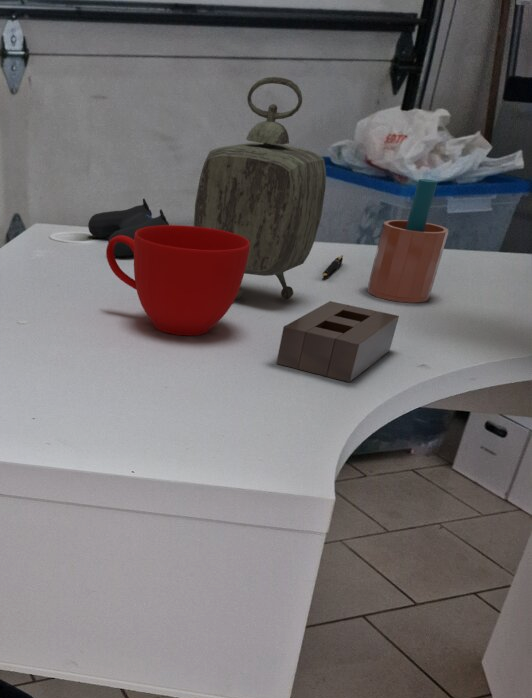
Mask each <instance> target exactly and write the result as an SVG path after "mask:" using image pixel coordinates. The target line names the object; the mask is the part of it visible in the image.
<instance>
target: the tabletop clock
mask: <svg viewBox="0 0 532 698" xmlns="http://www.w3.org/2000/svg"><path fill="white" fill-rule="evenodd" d="M269 84H275V85H282V86H286V87H288V88H290V89H292V91H293V92H294V93H295V94H296V96H297V100H298V101H297V104H296V106H295V107H294V108H292V109H291V110H289V111H284V112H278V106H277V104H276V103H275V104H274V103H272V104H270V105H268V109H267V110H263V109H261V108H259V107H257V106H256V105H255V104H254V103H253V101H252V96H253V93H254V92H255V91H256V90H257V89H258V88H260V87H262V86H265V85H269ZM246 100H247V105H248V107H249V108H250V110H251V111H252V113H254V114H256V115H257V116H259V117H262V118H265V119H266V120H263V121H259V122H257V123H256V124H255V125H253V127H252V128H251V129H250V131H248V134H247V136H246V139H245V140H247V142H246V143H241V144H233V145H226V146H219V147H217V148H214V149H212V150H210V151H209V152H208V155H207V156H206V158H205V161H204V163H203V165H202V168H201V172H200V176H199V182H198V187H197V192H196V197H195V203H194V213H193V214H194V215H193V216H194V217H193V226H195V227H204V228H211V229H217V230H222V231H227V232H231V233H234V234H237V235H240V236H242V237H244V238H246V239H247V240H248V241H249V242H250V249H249V254H248V259H247V264H246V268H245V272H244V275H253V276H263V277H269V276H276V278H277V279H278V281H279V283H280V285H281V288H282V289H281V291H280V295H281V297H282V298H283V299H285V300H288V299H291V298H292V297H293V295H294V289H293V287H291V286H289V285H287V282H286V278H285V272H287V271H289V270H292V269H294V268H296V267H299V266H301V265H303V264H304V263H305V262H306V261H307V258H308V257H309V255H310V253H311V251H312V249H313V246H314V243H315V240H316V237H317V234H318V230H319V227H320V223H321V219H322V215H323V209H324V201H325V196H326V195H325V194H326V185H327V170H326V162H325V159H324V158H323V157H322V156H320V155H319V154H317V153H316V152H313V151H311V150H308V149H305V148H301V147H297V146H292V145H288V144H290V138H289V134H288V130H287V128H286V127H285V126H284V125H283V124H282V123H279V122H277V121H276V120H282V119H287V118H289V117H292V116H293V115H295V114H296V113H298V112H299V110H300V108H301V107H302V105H303V94H302V91H301V89H300V87H299V86H298V84H296V83H295V82H294V81H293V80H291V79H288V78H284V77H279V76H268V77H264V78H262V79H259V80H257V81H256V82H255V83H254V84H253V85H252V86H251V87H250V88H249V91H248V93H247V99H246ZM242 295H243V288H242V287H241V286H240V288H239V291H238V293H237V296H236V298H235V300H237V299H240V298H241V297H242Z"/></svg>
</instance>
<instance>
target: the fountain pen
mask: <svg viewBox="0 0 532 698" xmlns="http://www.w3.org/2000/svg"><path fill="white" fill-rule="evenodd" d="M343 257H344V255H343V254H342V255H340V256H338V257H335V259H333V260H332V261H331V263H330V264H329V265H328V266H327V268H326V269H325V270H324V271H323V272H322V276H323V277H324V278H326V277H328V276H329V275H330V274H331V273H333V272H334V271H335V270H336V269H338V268H339V267H340V266H341V265H342V263H343V261H344V258H343Z"/></svg>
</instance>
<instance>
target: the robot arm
mask: <svg viewBox="0 0 532 698" xmlns="http://www.w3.org/2000/svg"><path fill="white" fill-rule="evenodd" d="M515 4H516V5H517V6H532V0H516V1H515Z"/></svg>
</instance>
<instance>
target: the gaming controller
mask: <svg viewBox="0 0 532 698" xmlns="http://www.w3.org/2000/svg"><path fill="white" fill-rule="evenodd" d="M149 206H150V205H148V203H147V201H146V199H145V198H142V204H140V205H135V206H133V207H130V208H127V209H123V210H112V211H103V212H98V213H94V214H93V215H91V217H90V219H89V220H88V224H87V227H88V231H89V234H90V235H92V236H93V238H96V239H108V242H107V244H108V243H109V242H110V240H111V239H112V238H114V237H116V236H119V235H124V236H128V237H130V238H132V239H133V240H134V237H135V232H136V231H137V230H139V229H141V228H145V227H150V226H161V225H170V223H169V221H167V217H166V216H165V213H164V211H163V210H162V209H159V215H158V216H155V217H152V216H153V213H152V211H151V209H150V207H149ZM132 255H133V256H134V253H133V251H132V249H131V248H130V247H129V246H128V245H127V244H126V243H123V242H117V243H116V244H115V246H114V257H118V258H123V257H129V256H132Z"/></svg>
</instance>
